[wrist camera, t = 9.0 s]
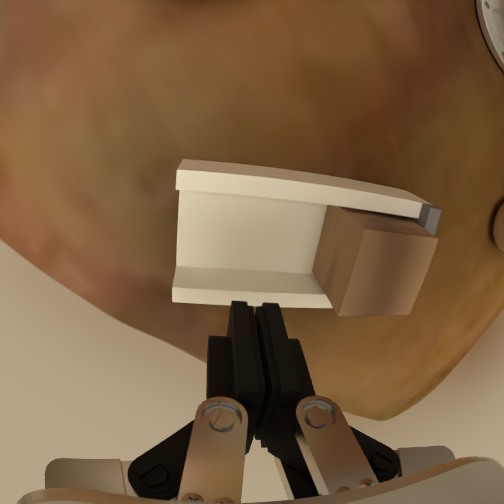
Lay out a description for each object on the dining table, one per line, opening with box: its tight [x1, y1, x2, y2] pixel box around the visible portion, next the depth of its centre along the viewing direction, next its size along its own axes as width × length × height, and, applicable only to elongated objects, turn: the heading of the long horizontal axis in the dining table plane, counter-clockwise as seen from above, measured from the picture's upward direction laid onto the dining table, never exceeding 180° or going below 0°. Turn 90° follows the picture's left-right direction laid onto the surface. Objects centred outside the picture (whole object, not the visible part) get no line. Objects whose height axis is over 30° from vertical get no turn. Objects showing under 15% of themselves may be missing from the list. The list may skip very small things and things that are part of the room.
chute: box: [172, 159, 442, 308], centre depth 22 cm, size 18×9×5 cm, turn 82°
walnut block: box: [312, 205, 439, 316], centre depth 21 cm, size 6×6×6 cm
